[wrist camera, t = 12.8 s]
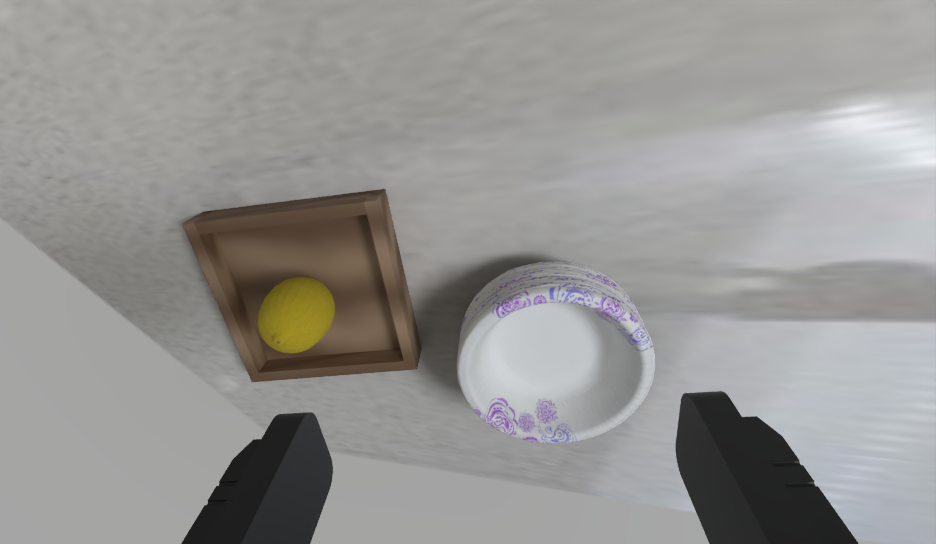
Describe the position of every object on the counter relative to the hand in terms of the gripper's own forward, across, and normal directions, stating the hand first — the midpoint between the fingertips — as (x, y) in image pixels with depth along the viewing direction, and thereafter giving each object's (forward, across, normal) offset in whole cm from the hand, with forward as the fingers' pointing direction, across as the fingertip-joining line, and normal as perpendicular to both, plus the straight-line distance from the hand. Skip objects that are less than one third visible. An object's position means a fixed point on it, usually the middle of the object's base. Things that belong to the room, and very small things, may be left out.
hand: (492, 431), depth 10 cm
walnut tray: (+28, +17, +11) cm, 35 cm away
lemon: (+28, +17, +10) cm, 34 cm away
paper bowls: (+28, -3, +16) cm, 33 cm away
